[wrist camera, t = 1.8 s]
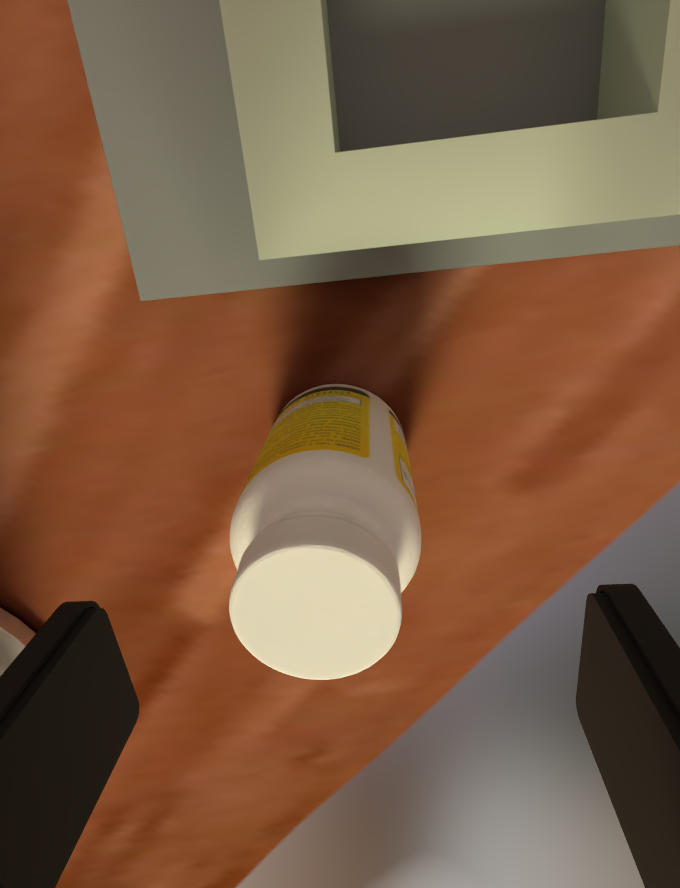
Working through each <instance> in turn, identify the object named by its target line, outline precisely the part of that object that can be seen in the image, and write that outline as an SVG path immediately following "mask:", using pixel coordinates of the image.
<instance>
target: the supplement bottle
mask: <svg viewBox="0 0 680 888" xmlns="http://www.w3.org/2000/svg"><path fill="white" fill-rule="evenodd" d="M230 547H231V553H232V557H233V560H234V563H235V566H236V568H237V574H236V577H235V580H234V583H233V586H232V589H231V593H230V599H229V613H230V619H231V622H232V625H233V628H234V631H235V633H236V635H237V636H238V638H239V640H240V641H241V642H242V644H243V645H244V646H245V647H246V649H247V650H248V651H249V652H250V653H251V654H252V655H253V656H255V657H256V658H257V659H259V660H260V661H261V662H263V663H264V664H266V665H267V666H269V667H271V668H273V669H275V670H277V671H279V672H282V673H284V674H288V675H291V676H295V677H299V678H305V679H317V680H328V679H336V678H342V677H346V676H350V675H353V674H356V673H358V672H360V671H362V670H364V669H366V668H368V667H370V666H372V665H373V664H374V663H376V662H377V661H378V660H379V659H380V658H382V657H383V656H384V655H385V654H386V653H387V652H388V651H389V649H390V648H391V646H392V645H393V643H394V642H395V640H396V638H397V635H398V632H399V629H400V626H401V619H402V602H401V593H402V592H403V590H404V589H405V588H406V586H407V585H408V583H409V582H410V580H411V579H412V577H413V575H414V573H415V571H416V568H417V565H418V561H419V557H420V551H421V530H420V521H419V515H418V509H417V504H416V498H415V491H414V486H413V480H412V474H411V468H410V462H409V457H408V451H407V445H406V440H405V436H404V432H403V429H402V426H401V424H400V422H399V420H398V418H397V417H396V415H395V413H394V412H393V411H392V409H391V408H390V407H389V406H388V405H387V404H386V403H385V402H384V401H383V400H381V399H380V398H379V397H377V396H376V395H374V394H373V393H371V392H369V391H367V390H364V389H362V388H359V387H356V386H352V385H345V384H327V385H322V386H317V387H314V388H311V389H309V390H307V391H305V392H303V393H301V394H299V395H298V396H296V397H295V398H294V399H292V400H291V401H290V402H289V403H288V404H287V405H286V406H285V407H284V408H283V410H282V411H281V412H280V414H279V415H278V417H277V419H276V420H275V422H274V424H273V426H272V428H271V430H270V432H269V434H268V436H267V439H266V441H265V443H264V445H263V447H262V449H261V452H260V454H259V456H258V458H257V460H256V463H255V465H254V467H253V469H252V471H251V473H250V476H249V478H248V480H247V482H246V484H245V486H244V489H243V491H242V493H241V495H240V497H239V499H238V502H237V504H236V507H235V510H234V513H233V516H232V521H231V527H230Z"/></svg>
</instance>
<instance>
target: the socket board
mask: <svg viewBox="0 0 680 888" xmlns="http://www.w3.org/2000/svg"><path fill="white" fill-rule="evenodd" d="M67 1H68V5H69V9H70V13H71V17H72V21H73V25H74V29H75V33H76V37H77V42H78V46H79V50H80V54H81V58H82V62H83V66H84V70H85V74H86V78H87V83H88V87H89V91H90V95H91V99H92V103H93V107H94V111H95V115H96V119H97V124H98V128H99V132H100V136H101V140H102V144H103V148H104V152H105V156H106V160H107V165H108V169H109V173H110V177H111V181H112V185H113V189H114V193H115V197H116V201H117V206H118V210H119V214H120V218H121V222H122V226H123V230H124V234H125V238H126V242H127V247H128V251H129V255H130V259H131V263H132V267H133V271H134V275H135V279H136V283H137V288H138V292H139V296H140V300H141V301H147V300H156V299H166V298H175V297H185V296H195V295H204V294H214V293H224V292H233V291H243V290H252V289H262V288H272V287H281V286H291V285H300V284H310V283H320V282H329V281H339V280H349V279H358V278H368V277H377V276H387V275H397V274H406V273H416V272H425V271H435V270H445V269H454V268H464V267H473V266H483V265H493V264H502V263H512V262H522V261H531V260H541V259H550V258H560V257H570V256H579V255H589V254H598V253H608V252H618V251H627V250H637V249H646V248H656V247H666V246H675V245H680V0H67Z"/></svg>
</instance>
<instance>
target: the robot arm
mask: <svg viewBox="0 0 680 888" xmlns="http://www.w3.org/2000/svg"><path fill="white" fill-rule="evenodd" d="M576 705H577V712H578V716H579V719H580V722H581V724H582V727H583V730H584V732H585V735H586V737H587V740H588V743H589V745H590V748H591V750H592V753H593V755H594V758H595V761H596V763H597V766H598V768H599V771H600V773H601V776H602V778H603V781H604V784H605V786H606V789H607V791H608V794H609V796H610V799H611V802H612V804H613V806H614V809H615V811H616V814H617V817H618V819H619V822H620V825H621V827H622V830H623V832H624V835H625V837H626V840H627V842H628V845H629V848H630V850H631V853H632V855H633V858H634V860H635V863H636V866H637V868H638V871H639V873H640V876H641V878H642V881H643V883H644V886H645V888H680V648H679V647H678V645H677V644H676V642H675V641H674V639H673V638H672V636H671V635H670V634H669V632H668V631H667V629H666V628H665V626H664V625H663V623H662V622H661V621H660V619H659V617H658V616H657V615H656V613H655V612H654V610H653V609H652V607H651V606H650V605H649V603H648V602H647V600H646V599H645V597H644V596H643V595H642V593H641V591H640V590H639V589H638V588H637V586H636V585H633V584H612V585H599V586H598V588H597V591H596V593H591V594H588V596H587V600H586V609H585V619H584V629H583V638H582V647H581V656H580V666H579V676H578V684H577V694H576ZM138 715H139V701H138V698H137V696H136V693H135V690H134V687H133V684H132V682H131V679H130V676H129V673H128V671H127V668H126V665H125V662H124V659H123V657H122V654H121V651H120V648H119V646H118V643H117V640H116V637H115V635H114V632H113V629H112V626H111V623H110V621H109V618H108V615H107V613H106V611H105V610H104V609H103V608H100V607H99V605H98V604H97V603H96V602H94V601H78V602H65V603H62V604H61V605H60V606H59V607H58V608H57V609H56V610H55V612H54V613H53V614H52V615H51V616H50V618H49V619H48V620H47V621H46V622H45V624H44V625H43V626H42V627H41V628H40V630H39V631H38V632H37V633H35V632H34V631H32V630H31V629H30V628H29V627H28V626H26V625H25V624H24V623H23V622H22V621H20V620H19V619H18V618H16V617H15V616H13V615H12V614H10V613H8V612H7V611H5V610H4V609H2V608H0V888H55V887H56V884H57V882H58V880H59V878H60V876H61V874H62V872H63V870H64V868H65V866H66V864H67V862H68V860H69V858H70V856H71V854H72V852H73V850H74V848H75V846H76V844H77V842H78V840H79V838H80V836H81V834H82V832H83V830H84V827H85V825H86V823H87V821H88V819H89V817H90V815H91V813H92V811H93V809H94V807H95V805H96V803H97V801H98V799H99V797H100V795H101V793H102V791H103V789H104V787H105V785H106V783H107V781H108V779H109V777H110V775H111V773H112V770H113V768H114V766H115V764H116V762H117V760H118V758H119V756H120V754H121V752H122V750H123V748H124V746H125V744H126V742H127V740H128V738H129V736H130V734H131V732H132V730H133V728H134V726H135V724H136V721H137V719H138Z"/></svg>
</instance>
